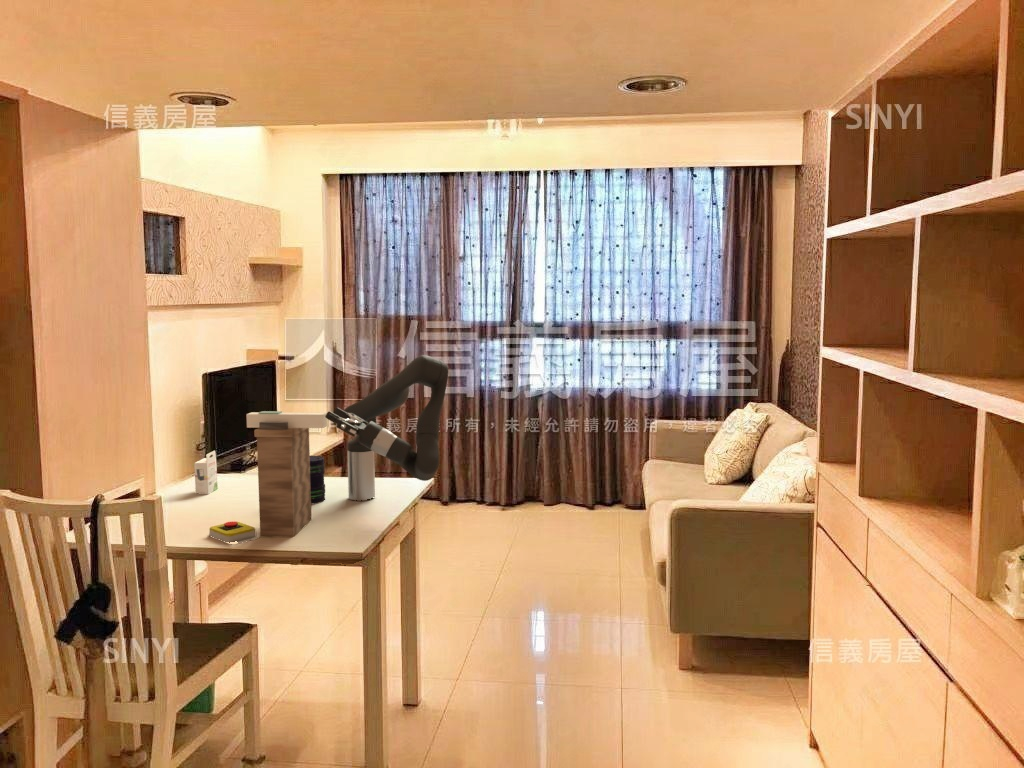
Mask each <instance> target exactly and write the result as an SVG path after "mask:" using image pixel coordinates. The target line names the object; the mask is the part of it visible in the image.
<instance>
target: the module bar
mask: <svg viewBox="0 0 1024 768" xmlns="http://www.w3.org/2000/svg"><path fill="white" fill-rule="evenodd" d="M327 413H328V412H283V411H277V410H275V411H273V410H272V411H271V410H269V411H268V410H267V411H266V410H264V411H263V410H262V411H259V412H255V411H253V412H249V413H246V414H245V415H246V428H249V429H251V428H253V429H254V428H256V429H258V428H259V422H288V428H309V429H324V428H326V427H328V419H327V418H326V417H325V416H326V414H327Z"/></svg>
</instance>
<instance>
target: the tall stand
mask: <svg viewBox="0 0 1024 768" xmlns="http://www.w3.org/2000/svg"><path fill="white" fill-rule="evenodd" d="M253 436H254V437H255V438H256V450H257V451H256V452H257V454H256V456H257V477H258V478H257V479H258V502H259V503H258V505H259V507H258V509H259V510H258V511H259V512H258V513H259V537H261V536H294V537H295V536H296V535H298V533H300V531H302V530H303V529H304V528H305V527H306V526H308V524H309V523H310V522H311V521H312V504H311V486H310V456H311V454H310V428H288V422H259V428H256V429H254V435H253ZM305 525H306V526H305ZM304 526H305V527H304ZM303 527H304V528H303ZM302 528H303V529H302Z"/></svg>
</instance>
